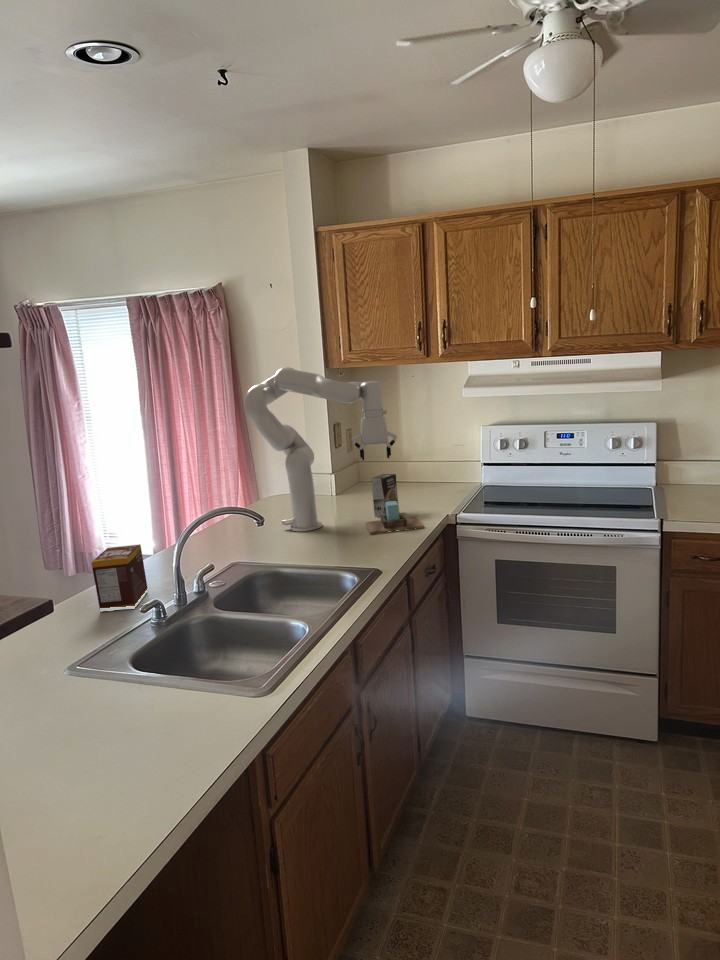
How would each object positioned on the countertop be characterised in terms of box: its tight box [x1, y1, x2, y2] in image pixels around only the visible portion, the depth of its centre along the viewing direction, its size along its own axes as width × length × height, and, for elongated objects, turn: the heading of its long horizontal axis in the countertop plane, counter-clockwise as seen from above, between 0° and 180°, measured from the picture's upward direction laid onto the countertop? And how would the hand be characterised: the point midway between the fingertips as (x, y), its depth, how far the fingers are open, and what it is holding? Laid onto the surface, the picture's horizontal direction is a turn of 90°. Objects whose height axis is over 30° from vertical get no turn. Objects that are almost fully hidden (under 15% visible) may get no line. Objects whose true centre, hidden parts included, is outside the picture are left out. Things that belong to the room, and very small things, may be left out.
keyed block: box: [385, 501, 400, 521], centre depth 272 cm, size 7×4×8 cm, turn 5°
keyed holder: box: [365, 512, 424, 535], centre depth 273 cm, size 20×16×4 cm
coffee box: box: [370, 473, 400, 518], centre depth 291 cm, size 9×6×16 cm
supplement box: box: [91, 544, 148, 609], centre depth 215 cm, size 10×15×16 cm
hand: (375, 458), depth 276 cm, fingers open, 9 cm apart
